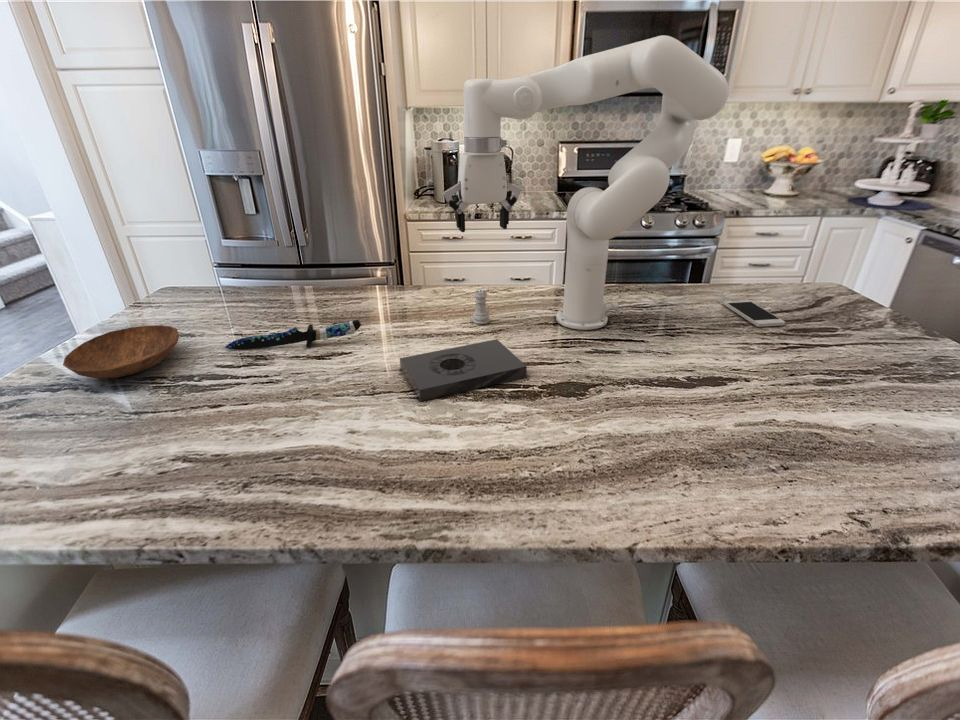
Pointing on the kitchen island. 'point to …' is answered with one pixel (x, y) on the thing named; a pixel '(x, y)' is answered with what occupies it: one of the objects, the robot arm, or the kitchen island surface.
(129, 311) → the kitchen island surface
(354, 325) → the knife
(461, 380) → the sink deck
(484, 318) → the rook chess piece
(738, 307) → the smartphone
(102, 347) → the bowl
